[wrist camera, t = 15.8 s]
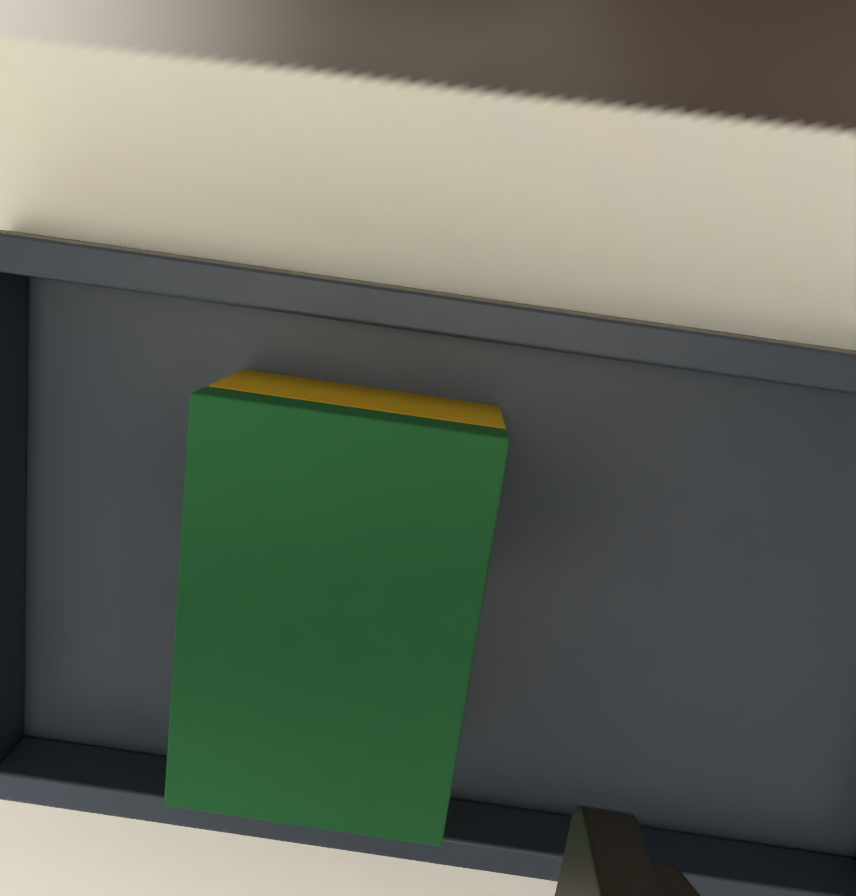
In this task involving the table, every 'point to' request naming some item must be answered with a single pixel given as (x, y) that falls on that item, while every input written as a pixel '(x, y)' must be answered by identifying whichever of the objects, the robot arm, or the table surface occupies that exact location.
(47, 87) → the table surface
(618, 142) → the table surface
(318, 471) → the sponge
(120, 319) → the tray
